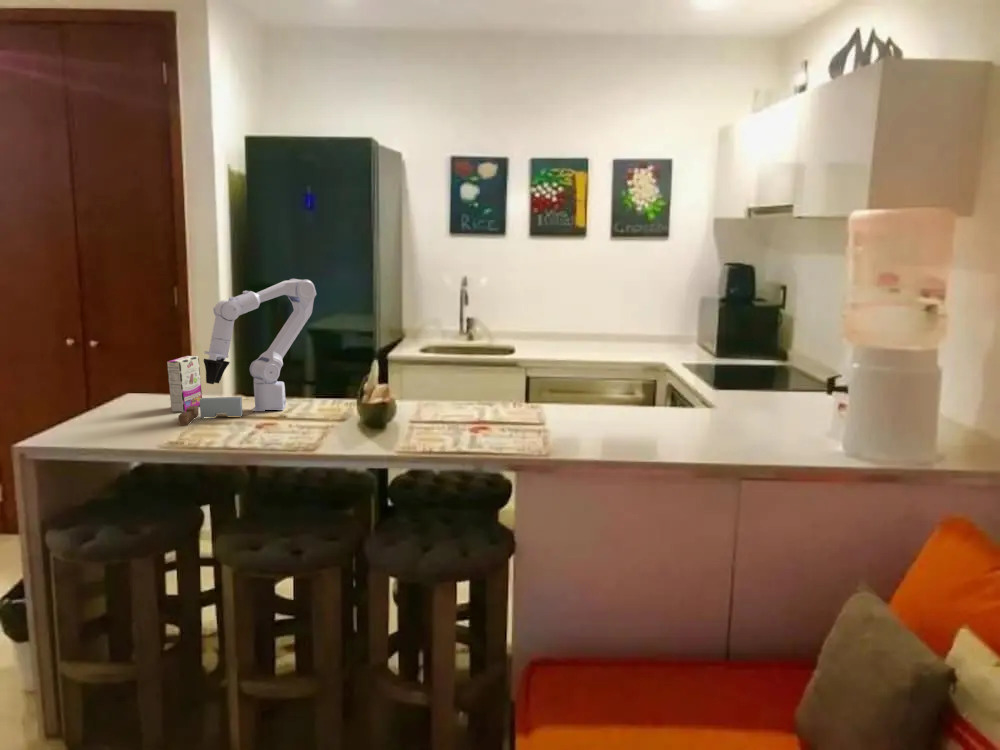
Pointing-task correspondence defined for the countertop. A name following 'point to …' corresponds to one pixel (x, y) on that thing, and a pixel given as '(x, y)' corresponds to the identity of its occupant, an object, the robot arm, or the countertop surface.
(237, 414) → the tapered grey panel
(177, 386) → the candy bar box
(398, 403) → the countertop surface
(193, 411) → the walnut slat
